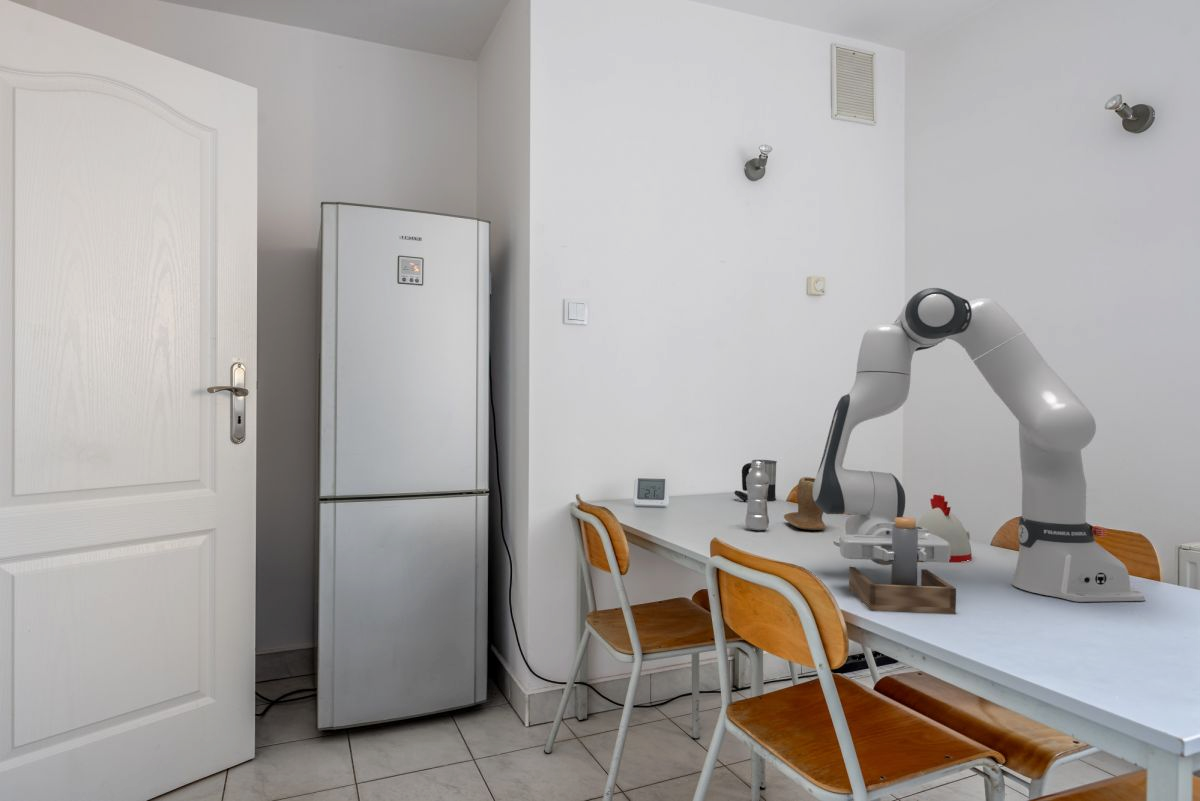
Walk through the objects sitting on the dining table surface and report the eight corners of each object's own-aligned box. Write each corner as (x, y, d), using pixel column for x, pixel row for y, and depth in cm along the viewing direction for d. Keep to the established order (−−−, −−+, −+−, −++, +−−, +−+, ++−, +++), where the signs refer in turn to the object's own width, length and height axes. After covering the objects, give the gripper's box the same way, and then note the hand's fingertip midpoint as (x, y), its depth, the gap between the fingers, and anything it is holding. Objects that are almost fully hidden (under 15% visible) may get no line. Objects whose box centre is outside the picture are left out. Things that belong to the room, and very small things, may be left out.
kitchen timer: (952, 550, 180) (953, 491, 180) (983, 562, 167) (984, 499, 167) (899, 549, 180) (900, 491, 180) (925, 562, 166) (926, 499, 166)
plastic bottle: (769, 533, 199) (770, 462, 199) (745, 531, 200) (746, 461, 200) (768, 529, 205) (769, 460, 205) (744, 527, 207) (746, 459, 207)
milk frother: (778, 499, 268) (779, 460, 268) (770, 504, 253) (771, 463, 253) (741, 496, 274) (742, 458, 274) (731, 501, 259) (732, 461, 259)
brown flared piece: (835, 533, 201) (836, 480, 200) (793, 532, 201) (794, 480, 201) (821, 523, 216) (822, 475, 216) (782, 522, 216) (783, 474, 216)
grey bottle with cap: (911, 588, 133) (913, 517, 133) (920, 595, 129) (921, 521, 129) (888, 587, 133) (889, 516, 133) (895, 594, 129) (897, 520, 129)
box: (926, 592, 140) (926, 569, 140) (955, 613, 126) (956, 588, 126) (849, 589, 141) (849, 566, 141) (869, 610, 127) (870, 585, 127)
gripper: (831, 525, 145) (849, 538, 131) (934, 528, 143) (963, 542, 129) (830, 555, 145) (848, 572, 131) (933, 559, 143) (962, 576, 129)
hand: (906, 557), depth 130 cm, fingers closed on grey bottle with cap, 4 cm apart
